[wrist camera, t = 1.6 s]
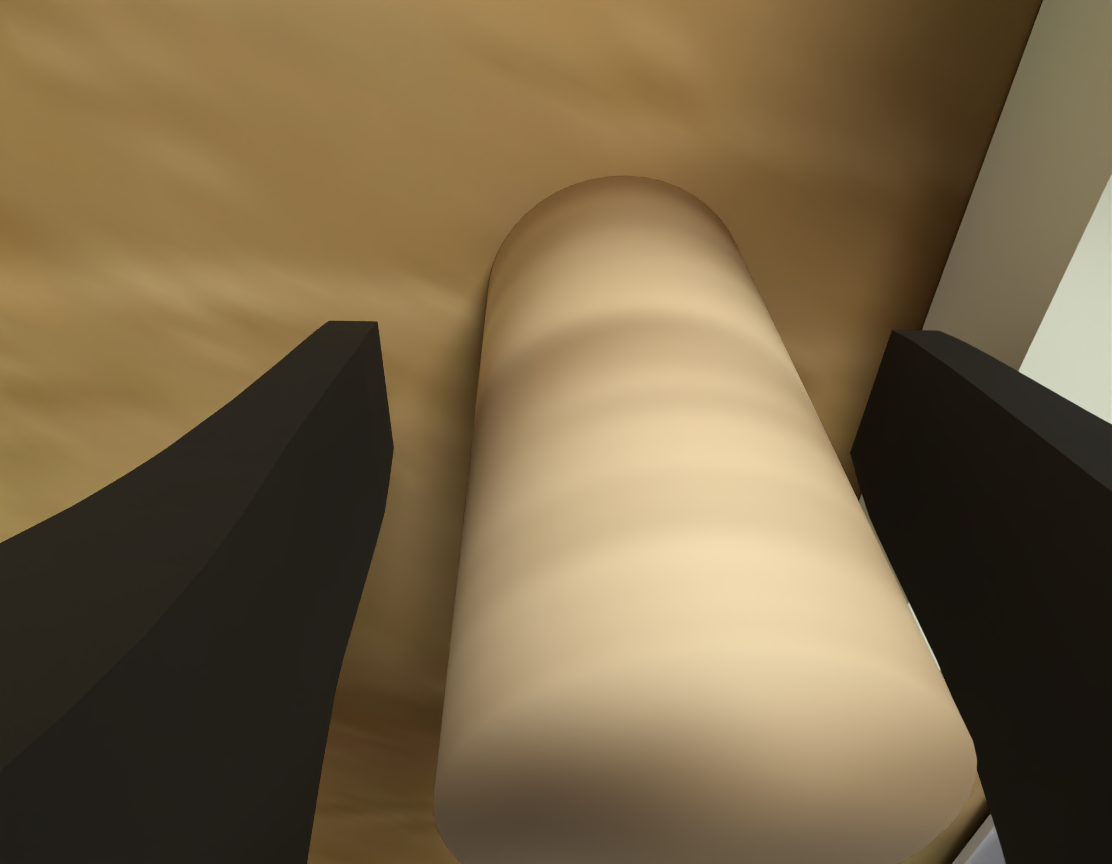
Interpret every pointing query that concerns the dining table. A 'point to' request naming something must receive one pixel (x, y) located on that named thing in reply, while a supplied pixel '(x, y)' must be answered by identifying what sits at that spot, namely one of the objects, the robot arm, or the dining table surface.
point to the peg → (671, 576)
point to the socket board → (1043, 220)
